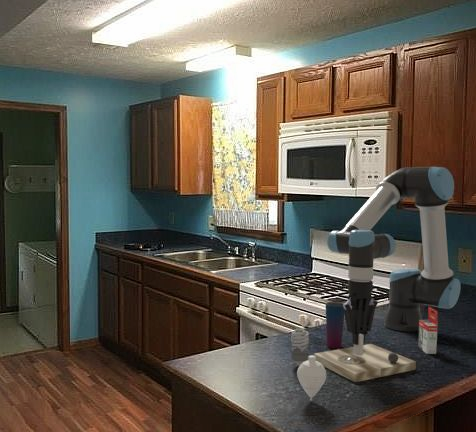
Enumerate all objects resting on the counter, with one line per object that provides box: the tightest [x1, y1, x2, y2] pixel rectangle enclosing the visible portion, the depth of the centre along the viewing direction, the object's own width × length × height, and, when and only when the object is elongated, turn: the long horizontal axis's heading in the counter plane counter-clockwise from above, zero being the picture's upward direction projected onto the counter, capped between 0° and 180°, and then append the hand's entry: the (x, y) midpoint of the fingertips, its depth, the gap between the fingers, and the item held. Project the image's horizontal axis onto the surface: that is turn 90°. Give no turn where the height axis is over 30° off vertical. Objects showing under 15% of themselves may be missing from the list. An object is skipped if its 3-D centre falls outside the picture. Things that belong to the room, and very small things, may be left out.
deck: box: [313, 343, 417, 383], centre depth 169 cm, size 24×20×2 cm
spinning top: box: [296, 354, 327, 402], centre depth 141 cm, size 8×8×12 cm
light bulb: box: [290, 328, 310, 367], centre depth 166 cm, size 6×6×12 cm
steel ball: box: [345, 358, 355, 362], centre depth 166 cm, size 3×3×3 cm
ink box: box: [417, 306, 439, 355], centre depth 184 cm, size 4×8×15 cm, turn 2°
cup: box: [325, 301, 345, 349], centre depth 188 cm, size 7×7×15 cm
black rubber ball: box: [388, 352, 399, 363], centre depth 164 cm, size 3×3×3 cm
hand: (358, 354), depth 167 cm, fingers closed
